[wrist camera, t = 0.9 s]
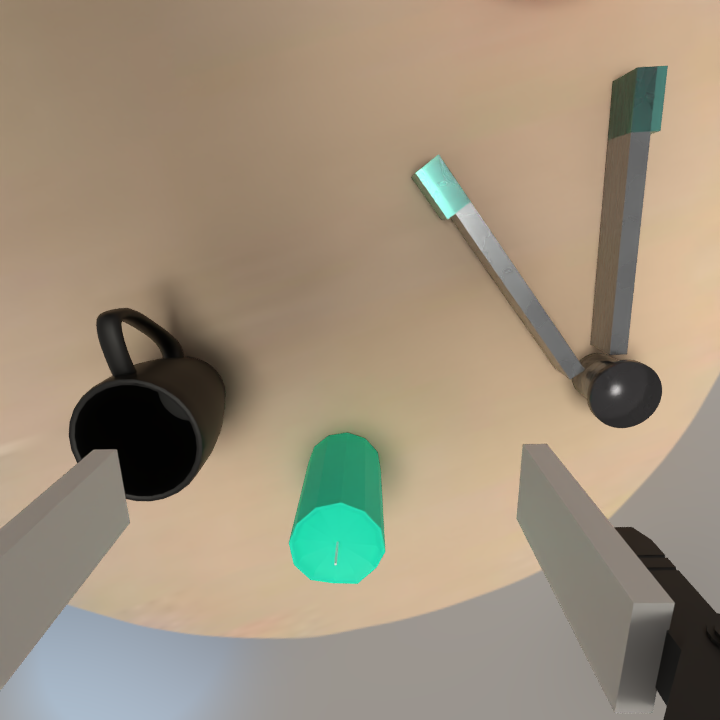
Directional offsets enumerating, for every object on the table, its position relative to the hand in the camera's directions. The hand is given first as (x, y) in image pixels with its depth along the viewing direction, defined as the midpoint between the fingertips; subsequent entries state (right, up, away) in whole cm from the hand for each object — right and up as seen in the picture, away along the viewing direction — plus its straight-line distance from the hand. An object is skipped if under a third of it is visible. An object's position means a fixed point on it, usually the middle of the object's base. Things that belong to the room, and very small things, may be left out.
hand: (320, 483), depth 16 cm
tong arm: (+11, +11, +20) cm, 25 cm away
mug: (-12, +3, +22) cm, 26 cm away
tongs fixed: (+19, +12, +19) cm, 30 cm away
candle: (0, -5, +24) cm, 25 cm away
